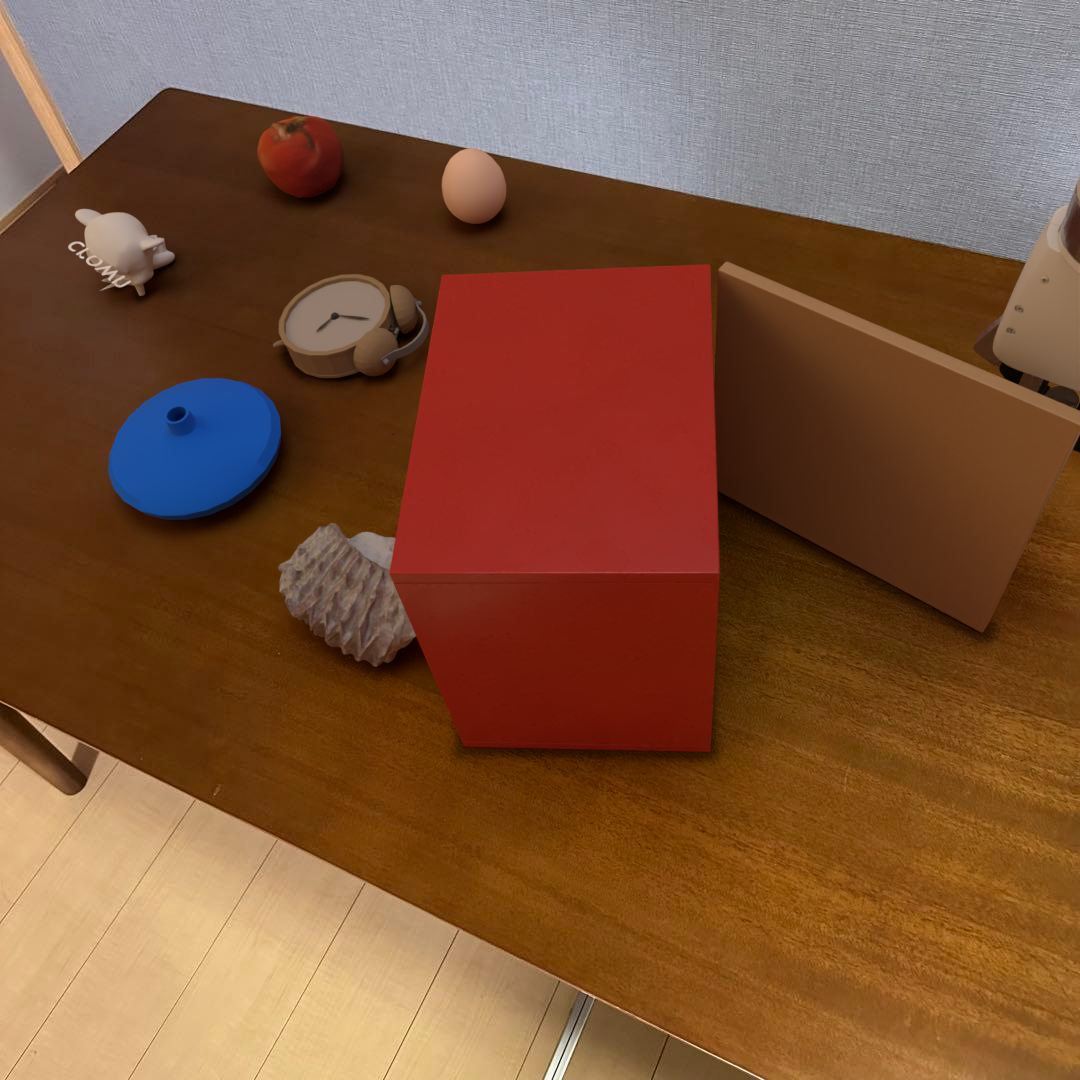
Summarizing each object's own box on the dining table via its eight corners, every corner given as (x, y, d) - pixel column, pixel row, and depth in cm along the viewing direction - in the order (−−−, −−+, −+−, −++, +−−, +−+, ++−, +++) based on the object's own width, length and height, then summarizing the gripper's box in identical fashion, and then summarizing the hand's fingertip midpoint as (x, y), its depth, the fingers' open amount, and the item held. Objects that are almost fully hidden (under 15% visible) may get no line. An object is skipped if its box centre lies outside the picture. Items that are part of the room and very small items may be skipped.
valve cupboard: (704, 484, 88) (710, 263, 69) (710, 752, 75) (720, 573, 55) (494, 487, 91) (441, 274, 71) (463, 747, 77) (388, 573, 58)
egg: (497, 242, 109) (485, 178, 102) (439, 233, 111) (424, 169, 104) (519, 201, 112) (509, 136, 106) (463, 193, 114) (450, 129, 107)
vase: (275, 380, 101) (250, 326, 95) (305, 501, 92) (280, 450, 86) (115, 431, 100) (80, 380, 94) (130, 559, 91) (93, 511, 85)
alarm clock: (306, 269, 105) (435, 269, 99) (328, 306, 109) (453, 308, 103) (255, 349, 99) (389, 353, 93) (280, 385, 103) (409, 392, 97)
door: (762, 426, 91) (783, 201, 71) (1030, 559, 81) (1141, 338, 61) (710, 487, 88) (717, 269, 68) (982, 633, 78) (1081, 425, 58)
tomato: (273, 166, 121) (249, 103, 114) (351, 153, 120) (332, 89, 114) (269, 217, 115) (244, 155, 109) (351, 204, 115) (331, 140, 108)
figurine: (133, 257, 117) (56, 287, 110) (120, 183, 112) (38, 210, 105) (209, 290, 112) (134, 323, 106) (200, 214, 107) (119, 244, 100)
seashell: (480, 591, 81) (391, 565, 73) (424, 695, 82) (330, 680, 74) (373, 514, 90) (284, 483, 82) (324, 608, 91) (231, 587, 83)
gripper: (1321, 226, 55) (1182, 447, 70) (1016, 147, 61) (949, 367, 76) (1286, 316, 52) (1149, 528, 67) (967, 224, 58) (908, 437, 73)
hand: (1043, 440), depth 71 cm, fingers closed on door, 2 cm apart
